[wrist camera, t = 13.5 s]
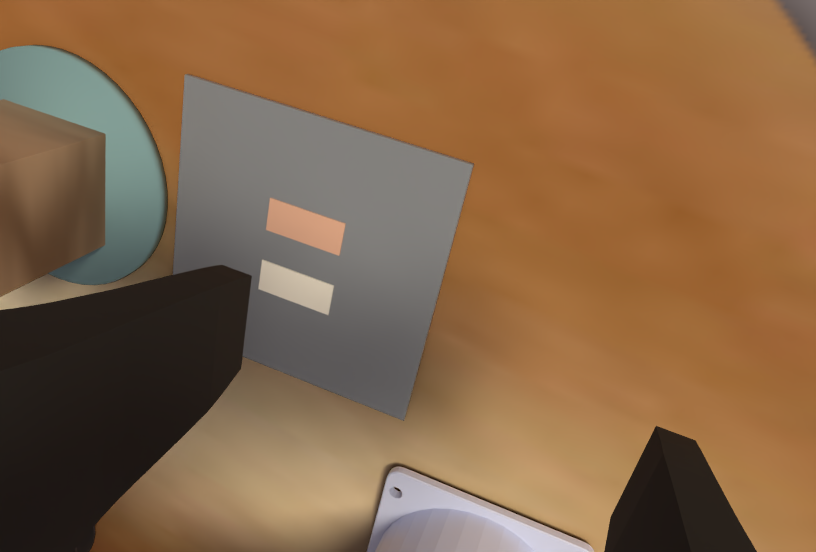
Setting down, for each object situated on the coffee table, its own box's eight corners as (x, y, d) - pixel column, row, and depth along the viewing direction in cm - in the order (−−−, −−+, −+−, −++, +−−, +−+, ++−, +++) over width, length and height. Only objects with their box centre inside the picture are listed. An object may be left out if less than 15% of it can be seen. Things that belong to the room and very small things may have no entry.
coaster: (161, 310, 27) (153, 316, 27) (-22, 238, 29) (-32, 242, 28) (173, 84, 23) (164, 86, 22) (-41, 16, 25) (-54, 16, 24)
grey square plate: (405, 418, 25) (403, 422, 25) (172, 325, 27) (168, 328, 27) (474, 163, 21) (472, 165, 20) (187, 73, 23) (183, 74, 22)
